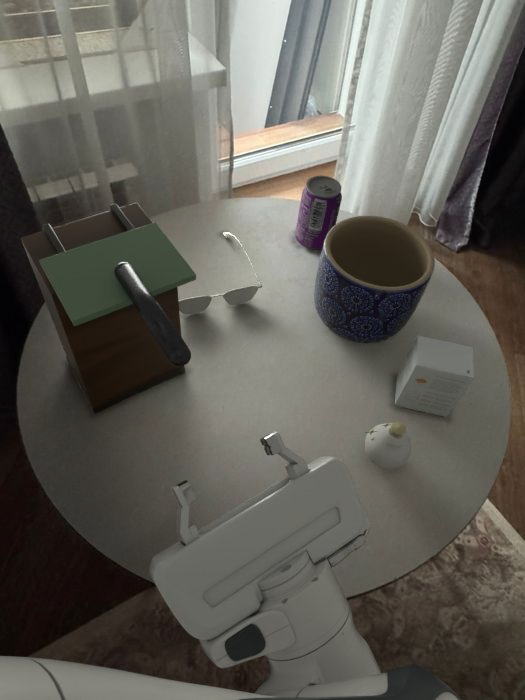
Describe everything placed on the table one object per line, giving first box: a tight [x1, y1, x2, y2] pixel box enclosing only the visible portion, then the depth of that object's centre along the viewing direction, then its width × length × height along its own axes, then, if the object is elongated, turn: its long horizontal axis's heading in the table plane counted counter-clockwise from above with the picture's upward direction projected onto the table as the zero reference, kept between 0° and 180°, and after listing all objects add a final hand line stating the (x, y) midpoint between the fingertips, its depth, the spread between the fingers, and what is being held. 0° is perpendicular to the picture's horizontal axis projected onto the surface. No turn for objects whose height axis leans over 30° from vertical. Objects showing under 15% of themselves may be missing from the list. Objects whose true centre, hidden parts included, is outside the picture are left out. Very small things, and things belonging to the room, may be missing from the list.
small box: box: [394, 335, 475, 418], centre depth 72 cm, size 8×6×10 cm
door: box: [39, 222, 197, 366], centre depth 50 cm, size 20×13×3 cm, turn 33°
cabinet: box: [20, 202, 186, 415], centre depth 66 cm, size 10×14×25 cm
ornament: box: [364, 421, 412, 470], centre depth 66 cm, size 6×7×10 cm
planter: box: [313, 215, 436, 344], centre depth 80 cm, size 16×17×15 cm
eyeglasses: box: [178, 231, 263, 315], centre depth 87 cm, size 15×18×4 cm
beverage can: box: [294, 175, 343, 250], centre depth 92 cm, size 7×7×12 cm
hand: (225, 458), depth 46 cm, fingers open, 8 cm apart
